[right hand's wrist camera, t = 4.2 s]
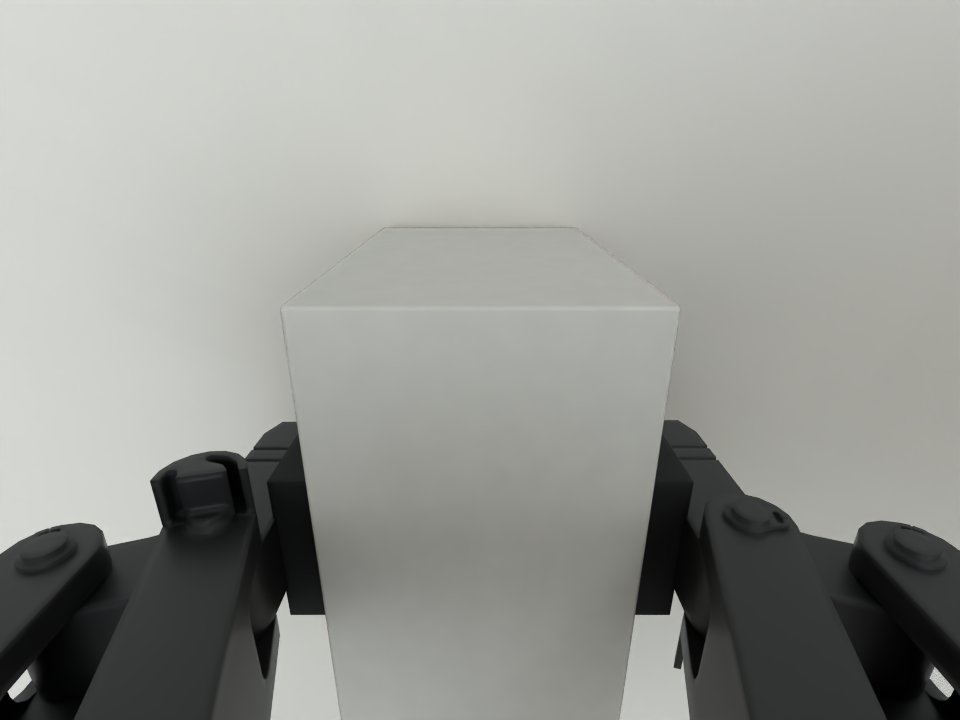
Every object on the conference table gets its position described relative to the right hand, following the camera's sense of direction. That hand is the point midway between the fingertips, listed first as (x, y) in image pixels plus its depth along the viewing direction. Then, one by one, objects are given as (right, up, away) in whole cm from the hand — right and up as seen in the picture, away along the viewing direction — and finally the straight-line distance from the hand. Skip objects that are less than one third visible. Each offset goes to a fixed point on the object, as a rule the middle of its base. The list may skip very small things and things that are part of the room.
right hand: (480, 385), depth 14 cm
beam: (0, -23, +10) cm, 25 cm away
